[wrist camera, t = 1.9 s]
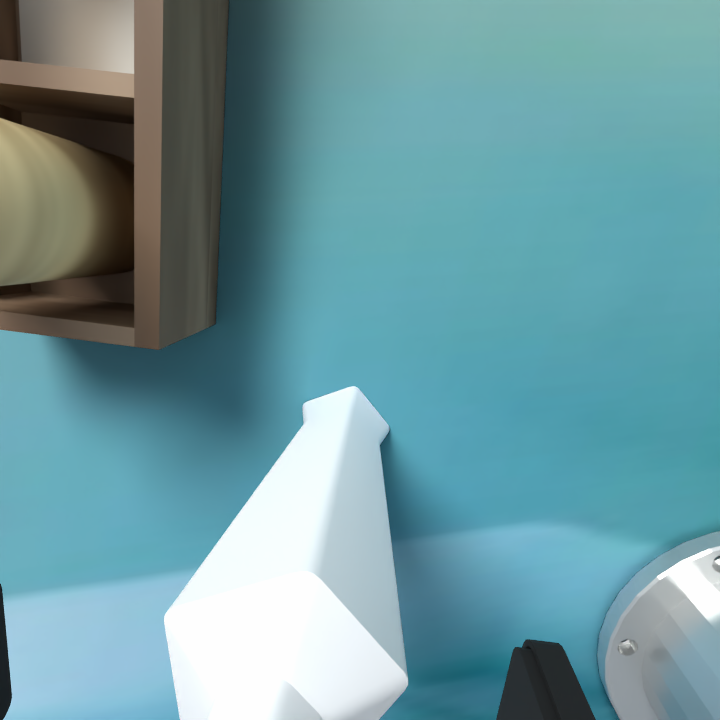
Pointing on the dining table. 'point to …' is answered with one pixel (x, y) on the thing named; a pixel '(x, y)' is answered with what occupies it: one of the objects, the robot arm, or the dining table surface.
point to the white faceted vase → (299, 586)
